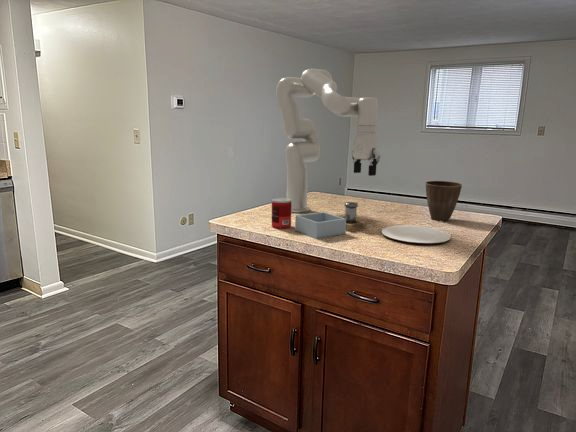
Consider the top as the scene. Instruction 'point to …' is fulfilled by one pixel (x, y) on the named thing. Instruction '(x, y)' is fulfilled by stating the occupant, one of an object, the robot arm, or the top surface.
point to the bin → (320, 225)
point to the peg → (350, 212)
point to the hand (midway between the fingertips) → (364, 174)
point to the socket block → (356, 226)
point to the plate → (416, 234)
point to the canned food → (281, 213)
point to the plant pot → (442, 198)
